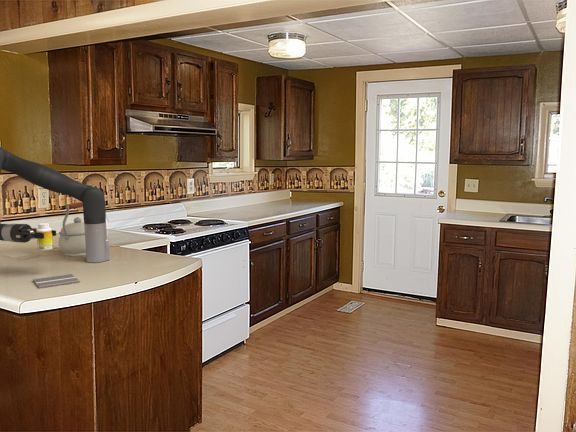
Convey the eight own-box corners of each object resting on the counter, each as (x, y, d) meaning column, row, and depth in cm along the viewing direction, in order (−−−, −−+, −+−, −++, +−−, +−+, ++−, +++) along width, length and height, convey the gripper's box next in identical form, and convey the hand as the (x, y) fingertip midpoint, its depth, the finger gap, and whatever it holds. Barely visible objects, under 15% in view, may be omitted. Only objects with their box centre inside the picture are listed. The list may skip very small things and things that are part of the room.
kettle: (83, 258, 238) (80, 205, 235) (48, 257, 242) (44, 204, 239) (112, 248, 263) (109, 199, 259) (80, 247, 266) (76, 199, 263)
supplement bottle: (55, 249, 203) (53, 223, 202) (41, 251, 199) (39, 225, 198) (50, 247, 207) (47, 222, 205) (35, 249, 203) (33, 224, 201)
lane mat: (71, 275, 205) (71, 273, 205) (79, 282, 193) (79, 280, 193) (32, 280, 197) (32, 279, 197) (39, 288, 185) (39, 286, 185)
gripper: (0, 226, 200) (34, 227, 194) (30, 221, 213) (62, 222, 207) (2, 245, 201) (35, 247, 195) (32, 239, 214) (64, 240, 208)
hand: (49, 234), depth 201 cm, fingers closed on supplement bottle, 5 cm apart
